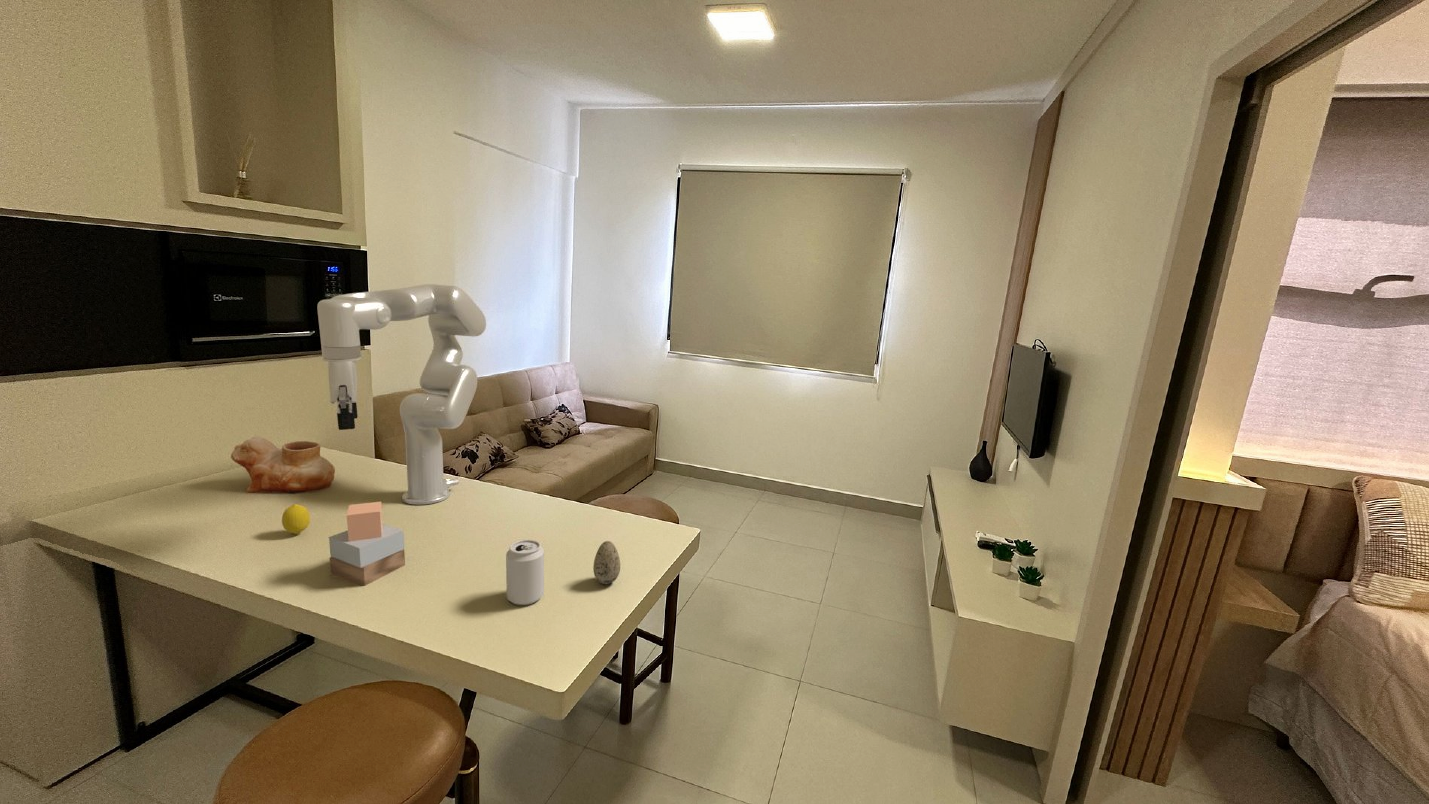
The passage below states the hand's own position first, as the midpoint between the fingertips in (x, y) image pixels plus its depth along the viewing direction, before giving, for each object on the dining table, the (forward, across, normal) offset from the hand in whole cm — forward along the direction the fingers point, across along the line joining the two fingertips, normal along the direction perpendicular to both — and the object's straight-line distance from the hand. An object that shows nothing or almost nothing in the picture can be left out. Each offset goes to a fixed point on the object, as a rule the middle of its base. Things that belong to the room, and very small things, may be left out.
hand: (348, 423), depth 131 cm
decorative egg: (+29, +46, +49) cm, 74 cm away
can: (+29, +45, +32) cm, 62 cm away
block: (+20, +20, +3) cm, 29 cm away
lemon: (+29, -6, -13) cm, 33 cm away
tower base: (+29, +20, +3) cm, 36 cm away
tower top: (+25, +20, +3) cm, 32 cm away
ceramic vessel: (+30, -45, -21) cm, 58 cm away
